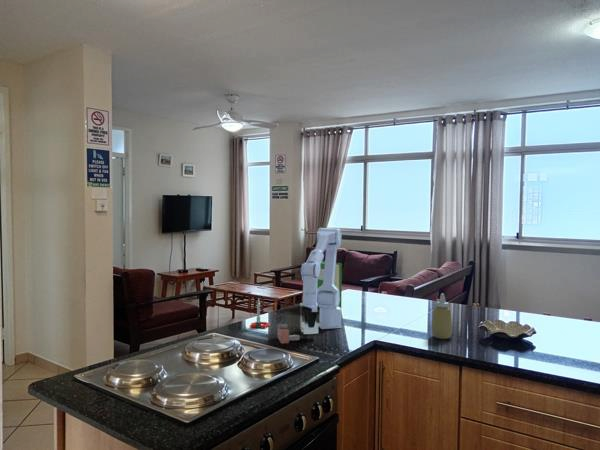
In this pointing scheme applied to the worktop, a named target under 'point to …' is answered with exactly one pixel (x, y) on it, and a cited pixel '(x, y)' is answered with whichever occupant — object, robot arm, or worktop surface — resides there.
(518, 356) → the worktop surface
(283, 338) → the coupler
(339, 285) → the hardback book
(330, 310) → the robot arm
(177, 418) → the worktop surface
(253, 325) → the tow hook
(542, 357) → the worktop surface
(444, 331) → the squeeze bottle
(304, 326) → the lock block
